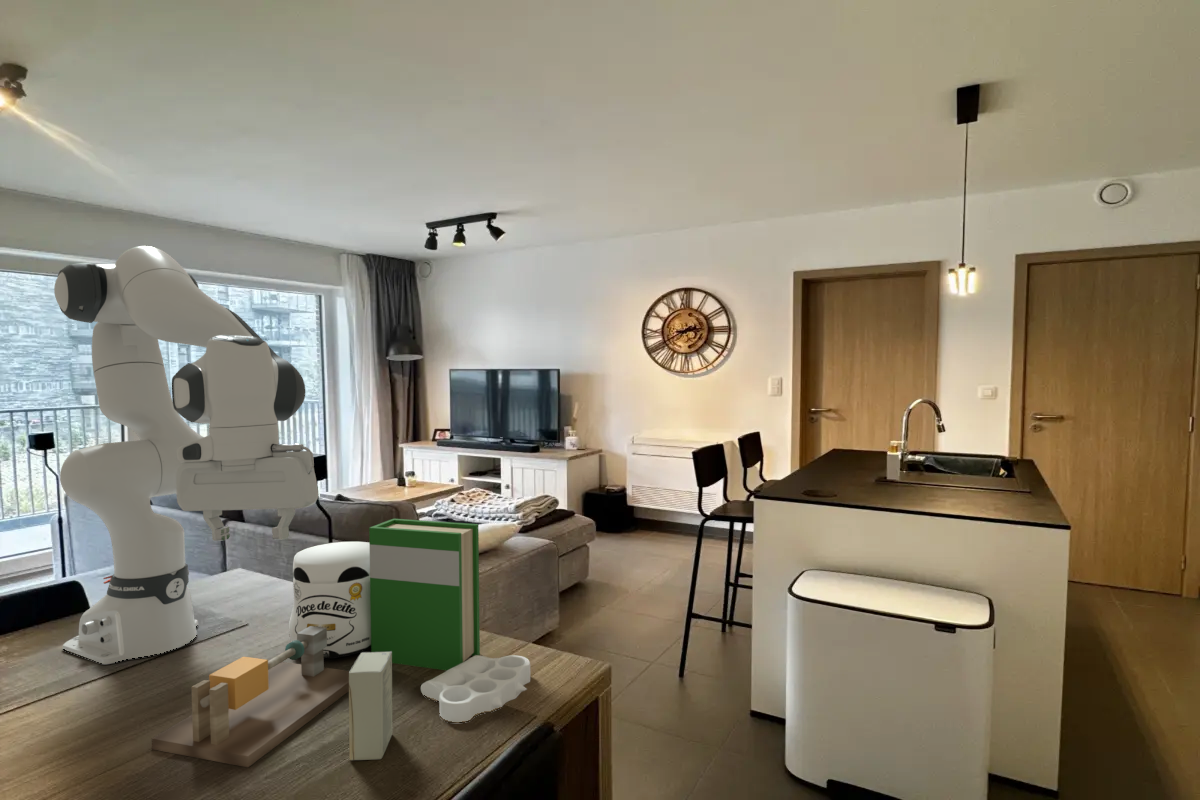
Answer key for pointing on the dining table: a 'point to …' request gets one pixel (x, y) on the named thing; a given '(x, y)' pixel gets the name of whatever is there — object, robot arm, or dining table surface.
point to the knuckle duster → (478, 685)
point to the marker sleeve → (242, 680)
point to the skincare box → (370, 705)
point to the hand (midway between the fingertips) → (250, 539)
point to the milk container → (334, 596)
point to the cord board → (259, 707)
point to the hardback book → (425, 592)
